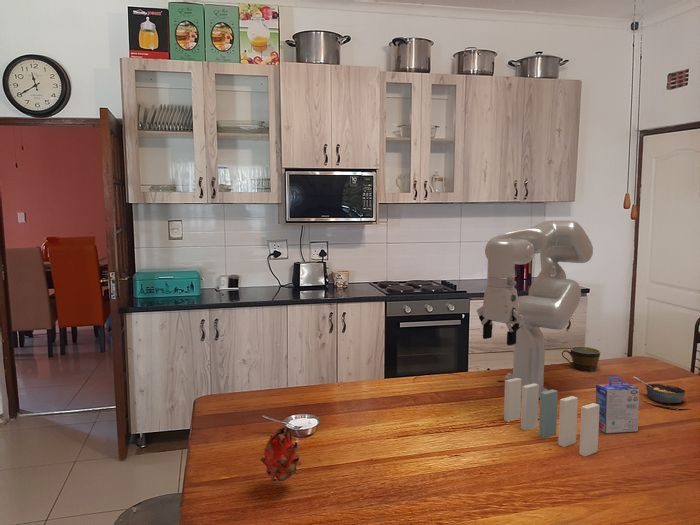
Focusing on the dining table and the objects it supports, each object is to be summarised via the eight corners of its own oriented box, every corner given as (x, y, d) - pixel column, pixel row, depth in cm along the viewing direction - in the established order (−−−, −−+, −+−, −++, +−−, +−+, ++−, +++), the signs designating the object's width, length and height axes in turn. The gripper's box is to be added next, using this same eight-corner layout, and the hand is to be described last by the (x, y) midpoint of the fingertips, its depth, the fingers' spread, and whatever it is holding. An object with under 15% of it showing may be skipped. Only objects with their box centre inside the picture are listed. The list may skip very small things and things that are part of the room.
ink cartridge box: (625, 424, 145) (627, 374, 144) (639, 432, 140) (641, 380, 138) (593, 426, 144) (595, 375, 142) (605, 434, 138) (608, 381, 137)
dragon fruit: (266, 494, 107) (266, 439, 106) (256, 476, 115) (256, 424, 114) (305, 486, 111) (305, 432, 110) (293, 468, 118) (292, 418, 117)
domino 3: (538, 436, 137) (540, 392, 136) (551, 432, 139) (552, 389, 138) (544, 438, 135) (545, 394, 134) (556, 434, 138) (557, 391, 137)
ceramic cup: (597, 374, 192) (598, 348, 191) (601, 382, 183) (602, 354, 182) (560, 370, 196) (561, 345, 196) (561, 378, 187) (562, 351, 186)
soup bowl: (675, 417, 151) (676, 392, 150) (624, 400, 165) (625, 378, 164) (703, 408, 158) (704, 385, 157) (652, 393, 172) (653, 371, 171)
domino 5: (579, 453, 126) (581, 406, 125) (591, 449, 129) (593, 402, 128) (585, 456, 125) (587, 408, 124) (597, 451, 128) (599, 404, 127)
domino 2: (520, 428, 142) (522, 386, 141) (532, 424, 144) (534, 383, 143) (525, 430, 140) (526, 387, 139) (537, 426, 143) (538, 384, 142)
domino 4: (558, 444, 131) (560, 399, 130) (570, 440, 134) (572, 395, 133) (563, 447, 130) (565, 401, 129) (575, 442, 133) (577, 397, 132)
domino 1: (503, 421, 147) (505, 380, 146) (515, 417, 149) (516, 377, 148) (508, 423, 145) (509, 381, 144) (520, 419, 148) (521, 379, 147)
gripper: (533, 285, 144) (532, 345, 145) (486, 279, 158) (485, 334, 160) (515, 287, 140) (514, 349, 141) (469, 280, 154) (468, 337, 156)
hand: (499, 341), depth 150 cm, fingers open, 8 cm apart
